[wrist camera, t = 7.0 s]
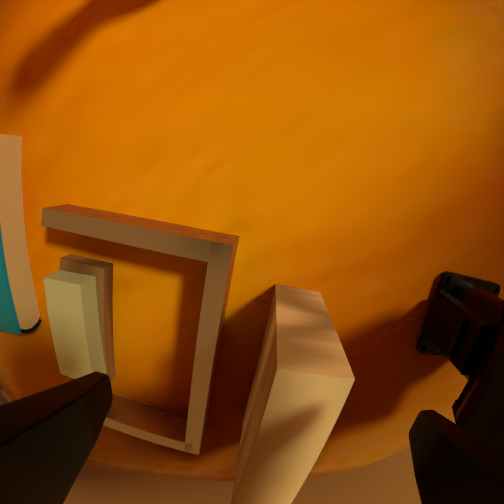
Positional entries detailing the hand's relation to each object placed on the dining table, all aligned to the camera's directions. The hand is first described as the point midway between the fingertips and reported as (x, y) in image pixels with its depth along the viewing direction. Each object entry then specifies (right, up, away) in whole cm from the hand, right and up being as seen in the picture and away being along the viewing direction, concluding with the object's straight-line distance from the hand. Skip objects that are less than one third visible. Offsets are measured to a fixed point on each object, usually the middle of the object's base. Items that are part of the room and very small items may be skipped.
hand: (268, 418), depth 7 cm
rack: (-9, -2, +14) cm, 17 cm away
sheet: (+1, -4, +14) cm, 15 cm away
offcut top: (-13, -1, +13) cm, 19 cm away
